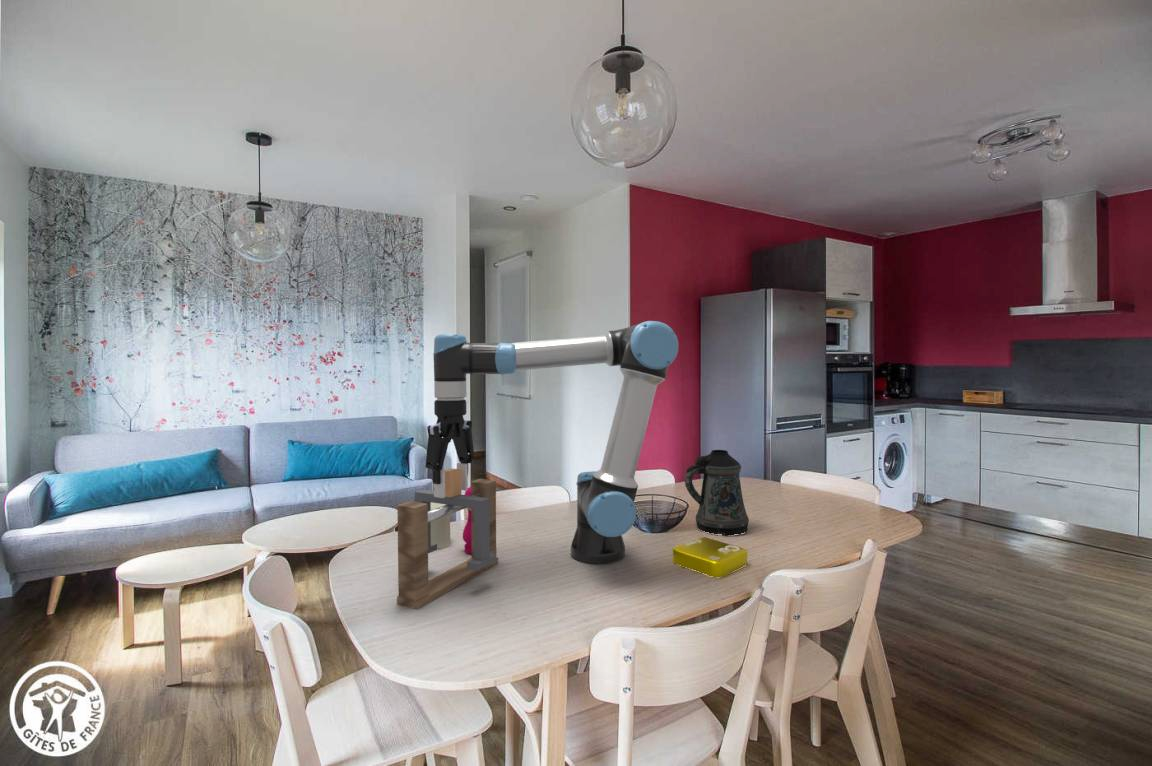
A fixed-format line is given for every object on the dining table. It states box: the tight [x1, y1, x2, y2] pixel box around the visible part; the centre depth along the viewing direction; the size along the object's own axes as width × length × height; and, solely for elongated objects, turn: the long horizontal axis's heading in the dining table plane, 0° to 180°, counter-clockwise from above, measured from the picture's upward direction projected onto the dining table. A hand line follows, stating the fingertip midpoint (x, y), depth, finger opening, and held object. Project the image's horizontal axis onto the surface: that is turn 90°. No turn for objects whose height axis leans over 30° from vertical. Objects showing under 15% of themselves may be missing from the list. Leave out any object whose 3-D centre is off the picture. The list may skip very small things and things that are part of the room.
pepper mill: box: [462, 486, 472, 555], centre depth 153 cm, size 7×7×20 cm
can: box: [431, 502, 452, 550], centre depth 159 cm, size 9×9×12 cm
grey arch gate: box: [414, 468, 497, 571], centre depth 131 cm, size 21×7×22 cm, turn 63°
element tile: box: [672, 536, 748, 578], centre depth 144 cm, size 15×15×5 cm
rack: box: [396, 478, 499, 610], centre depth 132 cm, size 6×30×22 cm, turn 153°
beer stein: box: [684, 449, 750, 535], centre depth 173 cm, size 16×19×25 cm
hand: (451, 493), depth 131 cm, fingers open, 8 cm apart
